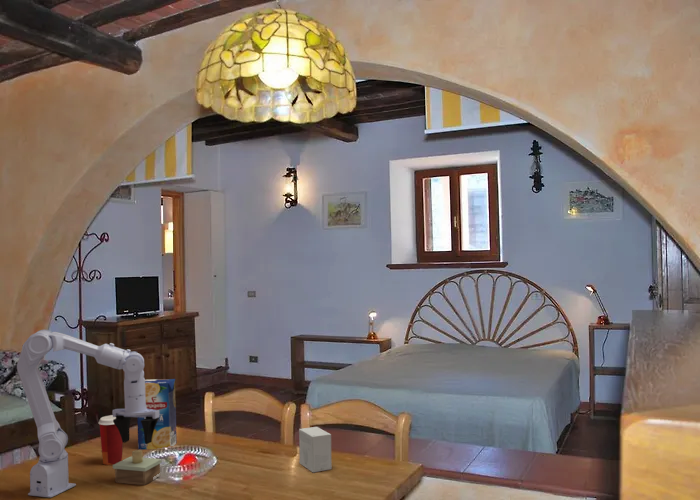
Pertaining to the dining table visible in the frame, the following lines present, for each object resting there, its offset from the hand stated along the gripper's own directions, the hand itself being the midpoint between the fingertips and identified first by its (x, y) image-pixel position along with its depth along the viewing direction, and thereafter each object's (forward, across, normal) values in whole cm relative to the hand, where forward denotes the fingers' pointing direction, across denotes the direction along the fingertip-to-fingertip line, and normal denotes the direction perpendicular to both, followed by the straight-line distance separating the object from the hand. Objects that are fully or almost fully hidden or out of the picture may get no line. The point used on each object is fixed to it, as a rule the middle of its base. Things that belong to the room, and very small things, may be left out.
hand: (137, 442), depth 180 cm
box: (+11, 0, 0) cm, 11 cm away
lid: (+7, 0, 0) cm, 7 cm away
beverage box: (+11, +14, -29) cm, 34 cm away
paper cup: (+11, +18, -11) cm, 24 cm away
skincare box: (+12, -46, -22) cm, 52 cm away
